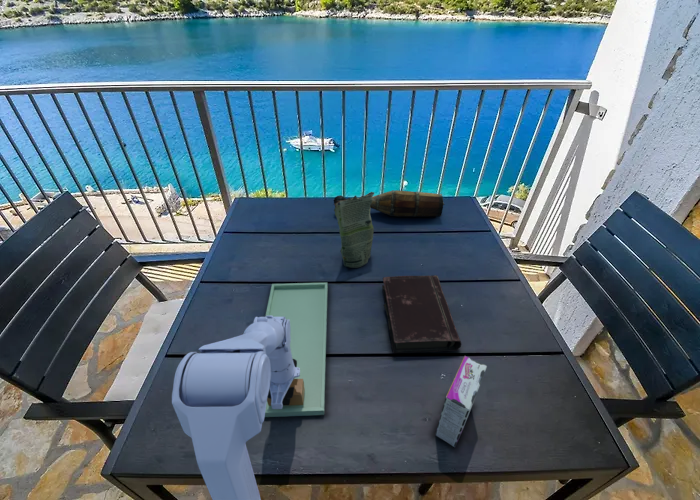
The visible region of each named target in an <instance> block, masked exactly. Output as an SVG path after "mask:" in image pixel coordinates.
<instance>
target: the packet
mask: <svg viewBox="0 0 700 500" xmlns="http://www.w3.org/2000/svg"><path fill="white" fill-rule="evenodd" d="M290 387H294V393H293V397H292V398H290V404H289V405H303V403H304V392H305V387H304V381H303V379H293V381H292V383H291V385H290ZM267 402H268V406H271V399H269V398H268V397H267ZM283 406H284V405H283Z"/></svg>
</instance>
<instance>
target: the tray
mask: <svg viewBox="0 0 700 500" xmlns="http://www.w3.org/2000/svg"><path fill="white" fill-rule="evenodd" d="M328 286H329V285H328V282H297V283H296V282H295V283H293V282H291V283H272V284H271V287H270V291H269V297H268V301H267V306H266V310H265V316H268V315H272V316H273V317H285V318H286V319H287V320H288V319H289V320H290V327H291V333H290V336H291V342H290V348H291V354H292V359H295V360H296V361H297V367H298V368H300V376H299V377H297V378H294V379H303V381H304V387H305V392H304V403H303V405H284V406H283V407H282V409H272V406H268V402H267V404H266V411H265V418H274V417H275V418H277V417H278V418H280V417H281V418H282V417H304V416H305V417H307V416H308V417H309V416H325V408H326V407H325V406H326V399H325V398H326V369H327V367H326V366H327V333H328V332H327V329H328V328H327V327H328V326H327V325H328V324H327V323H328V289H329V288H328Z"/></svg>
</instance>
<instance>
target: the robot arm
mask: <svg viewBox="0 0 700 500" xmlns="http://www.w3.org/2000/svg"><path fill="white" fill-rule="evenodd" d="M290 333H291V327H290V320H289V319H288V320H287V319H286V318H285V317H273V316H272V315H268V316H266V315H264V316H259V317H258V316H255V317H254V319H253V322H252V323H251V324H249V325H248V326H247V327H246V328H245V330H244V332H243V334H240V335H237V336H234V337H230V338H227V339H223V340H219V341H216V342H212V343H208V344H204V345H202V346H200V347H199V348H198V349H197V350H198V351H199V352H197V351H190V352H188V353H187V354H185V355H184V356H183V358H182V359H181V360H180V362H179V363H178V365H177V368H176V370H175V374H174V377H173V386H172V392H171V405H172V407H173V410H174V412H175V415H176V416H177V419H178V421H179V424H180V425H181V428H182V431H183V433H184V434H185V435H187V436H188V437H190V438H191V442H192V446H193V450H194V455H195V459H196V463H197V467H198V469H199V472H200V474H201V476H202V479H203V481H204V484H205V486H206V488H207V490H208V493H209V495H210V497H211V500H262V499H261V498H262V497H261V494H260V491H259V488H258V484H257V480H256V477H255V473H254V469H253V466H252V462H251V458H250V454H249V451H248V447H247V444H246V443H247V442H248V441H249V440H251V439H253V438H254V437H255V436H257V435H258V434H260V433H261V432H262V427H263V423H264V422H265V418H266V417H265V411H266V404H267V397H268V398H269V399H271V406H272V409H282V407H283V405H289V404H290V398H292V397H293V393H294V387H290V385H291V383H292V381H293V379H294V378H297V377H299V376H300V368H298V367H297V361H296V360H295V359H292V354H291V348H290V342H291V336H290Z"/></svg>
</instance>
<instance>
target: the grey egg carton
mask: <svg viewBox="0 0 700 500" xmlns="http://www.w3.org/2000/svg"><path fill="white" fill-rule="evenodd" d="M487 367H488V366H487V365H486V364H484V363H481V362H479V361H477V360H474V359H472V358H471V357H469V356H466V355H464V356H463V358H462V360H461V363H460V365H459V367H458V369H457V371H456V374H455V376H454V378H453V380H452V382H451V385H450V387H449V389H448V391H447V393H446V396H445V399H444V402H443V405H442V409H441V412H440V416H439V420H438V424H437V427H436V430H435V434H434V435H435V437H437V438H438V439H440V440H442V441H444V442H446V443H447V444H448V445H450V446H452V447H454V448H456V446H457V444H458V442H459V439H460V437H461V435H462V433H463V430H464V428H465V425H466V423H467V420H468V418H469V415H470V412H471V410H472V407H473V405H474V403H475V399H476V397H477V395H478V392H479V389H480V387H481V385H482V381H483V378H484V376H485V373H486V370H487Z"/></svg>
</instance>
